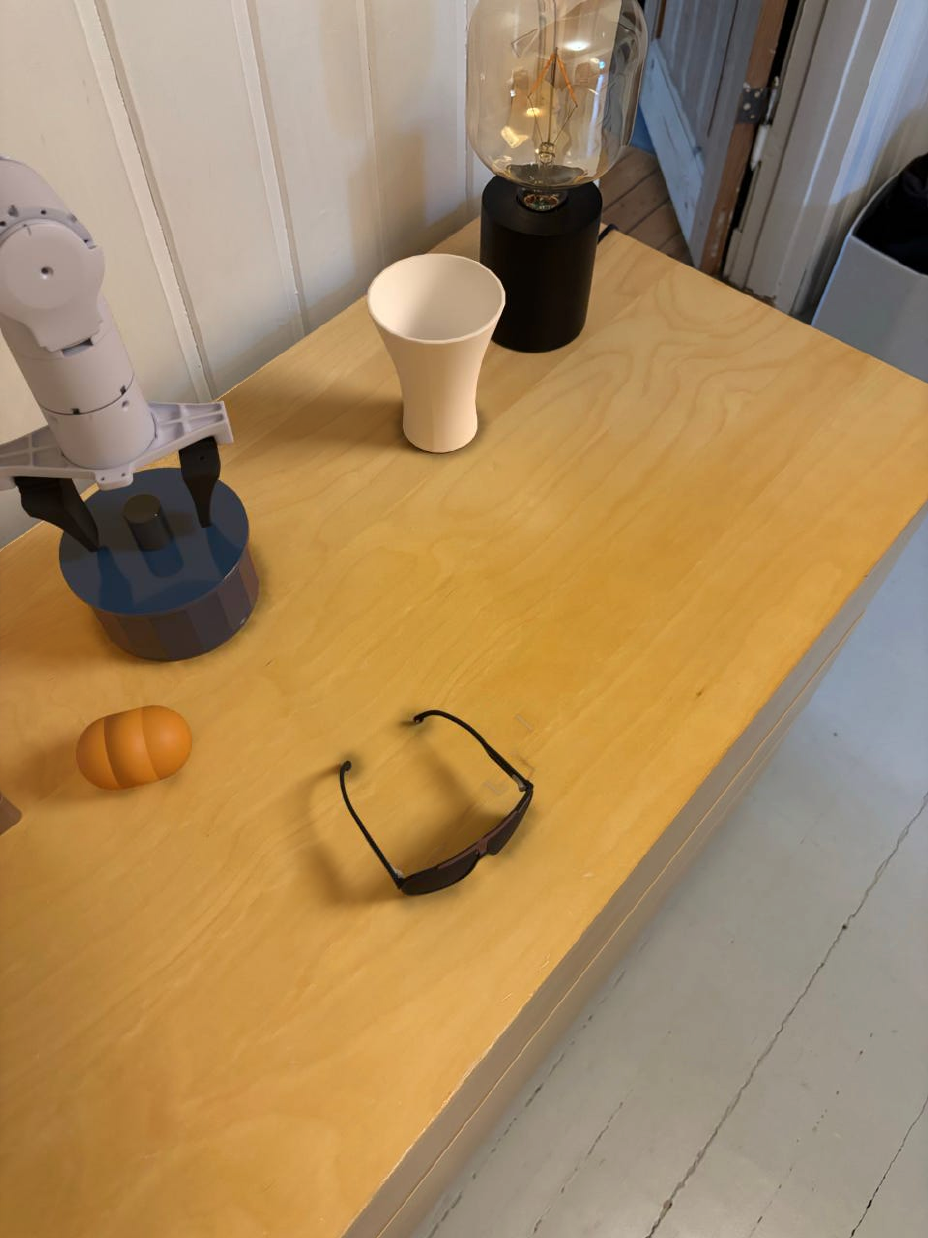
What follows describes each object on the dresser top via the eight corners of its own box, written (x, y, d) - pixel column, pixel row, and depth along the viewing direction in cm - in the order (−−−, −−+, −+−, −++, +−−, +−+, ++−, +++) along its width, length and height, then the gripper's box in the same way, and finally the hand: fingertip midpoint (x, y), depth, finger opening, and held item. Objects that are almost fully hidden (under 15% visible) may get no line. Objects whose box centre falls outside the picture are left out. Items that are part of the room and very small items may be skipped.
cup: (507, 390, 84) (513, 259, 73) (491, 477, 78) (495, 349, 67) (392, 378, 85) (381, 247, 74) (369, 463, 79) (352, 335, 68)
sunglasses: (419, 929, 58) (409, 896, 54) (321, 794, 64) (305, 757, 60) (551, 830, 61) (550, 793, 57) (444, 712, 68) (437, 672, 64)
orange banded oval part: (95, 789, 64) (78, 808, 59) (76, 719, 64) (57, 732, 59) (203, 761, 65) (196, 777, 60) (185, 692, 65) (176, 702, 60)
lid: (69, 643, 62) (45, 607, 59) (59, 498, 69) (36, 458, 66) (265, 597, 64) (253, 560, 61) (236, 461, 71) (224, 420, 68)
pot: (104, 679, 68) (72, 631, 62) (92, 550, 74) (63, 496, 69) (271, 639, 70) (255, 588, 64) (245, 517, 76) (228, 462, 71)
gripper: (-49, 455, 51) (45, 598, 62) (219, 401, 53) (262, 549, 64) (-48, 369, 54) (41, 518, 66) (202, 322, 57) (246, 474, 68)
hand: (150, 528), depth 65 cm, fingers open, 7 cm apart
